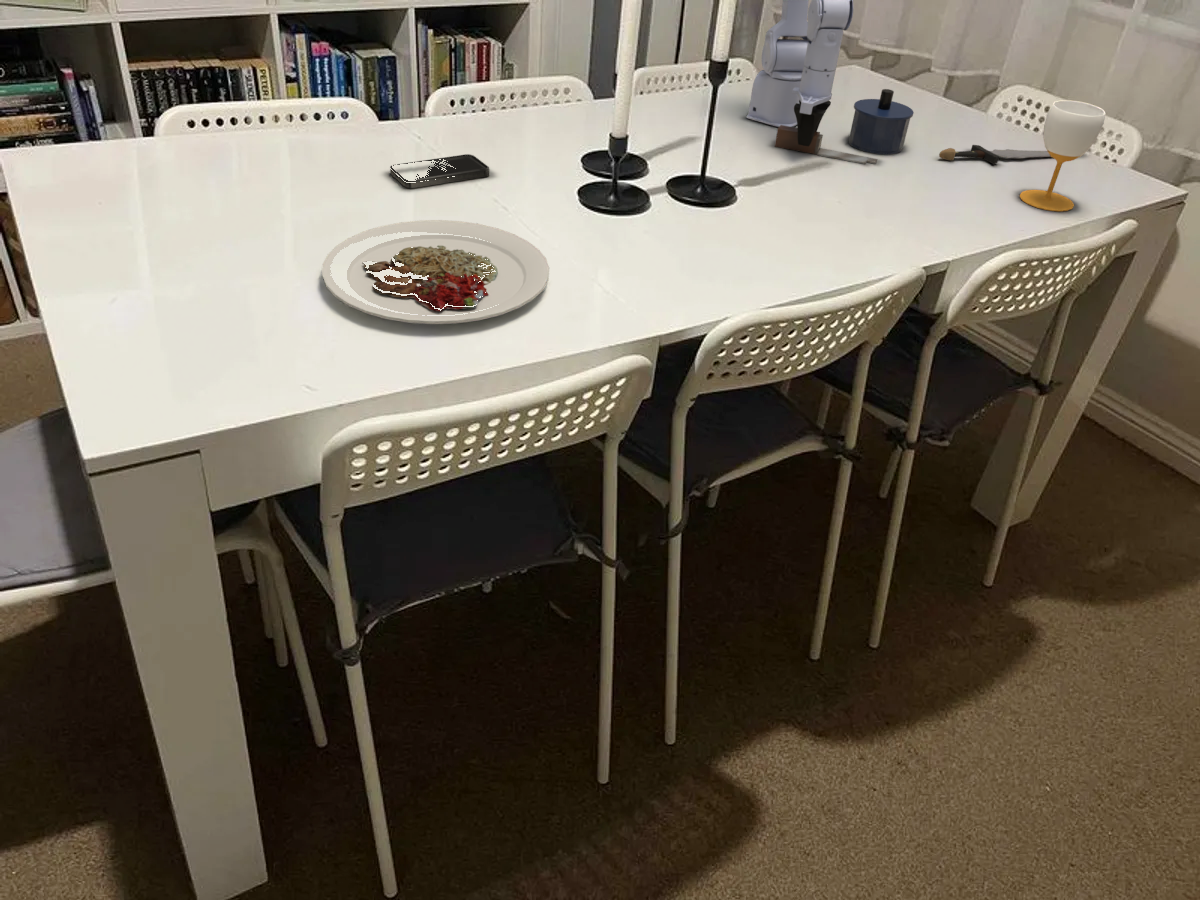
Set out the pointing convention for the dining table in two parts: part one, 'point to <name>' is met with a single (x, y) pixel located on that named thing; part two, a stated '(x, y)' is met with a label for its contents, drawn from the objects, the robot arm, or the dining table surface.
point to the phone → (448, 171)
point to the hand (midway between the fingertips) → (805, 142)
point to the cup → (1065, 146)
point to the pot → (877, 134)
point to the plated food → (443, 272)
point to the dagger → (991, 154)
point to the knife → (814, 146)
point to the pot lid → (884, 107)
